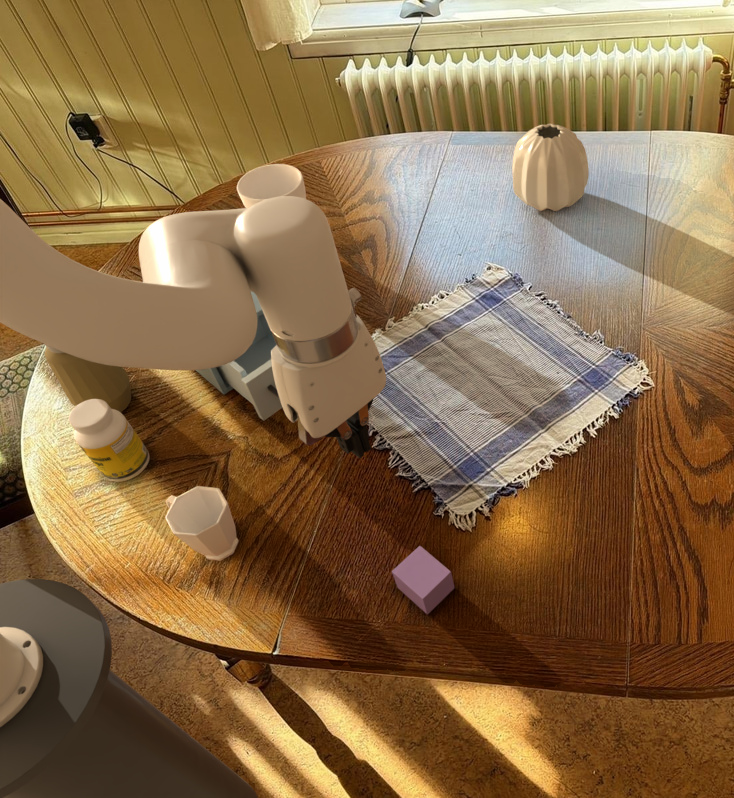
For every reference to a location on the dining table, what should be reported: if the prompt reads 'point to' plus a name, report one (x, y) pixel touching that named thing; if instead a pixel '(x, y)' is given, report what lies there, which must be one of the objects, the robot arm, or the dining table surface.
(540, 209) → the vase
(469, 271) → the dining table surface
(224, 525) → the cup
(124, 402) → the squeeze bottle
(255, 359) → the drawer
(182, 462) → the dining table surface
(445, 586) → the cube
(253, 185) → the cup
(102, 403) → the pill bottle
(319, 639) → the dining table surface
